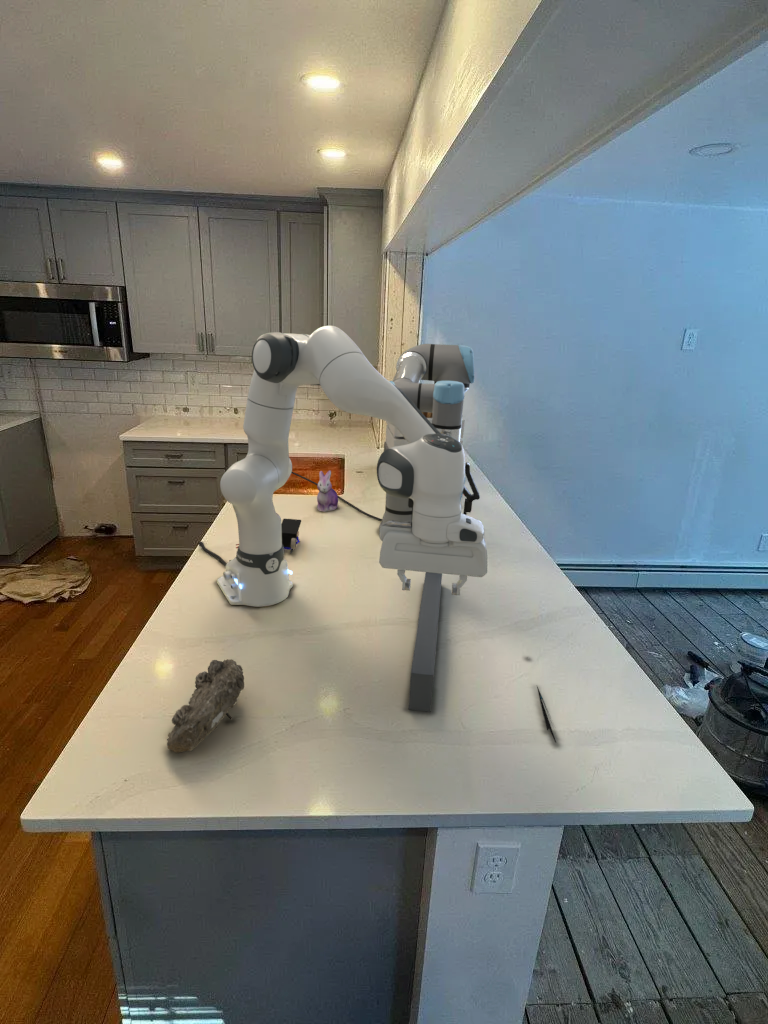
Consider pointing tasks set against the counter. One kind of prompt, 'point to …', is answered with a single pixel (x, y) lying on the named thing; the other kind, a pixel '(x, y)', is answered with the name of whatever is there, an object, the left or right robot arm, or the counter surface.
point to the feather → (545, 714)
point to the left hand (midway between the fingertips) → (430, 591)
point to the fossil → (206, 705)
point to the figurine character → (290, 533)
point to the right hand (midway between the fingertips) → (438, 521)
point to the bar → (425, 645)
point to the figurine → (326, 493)
